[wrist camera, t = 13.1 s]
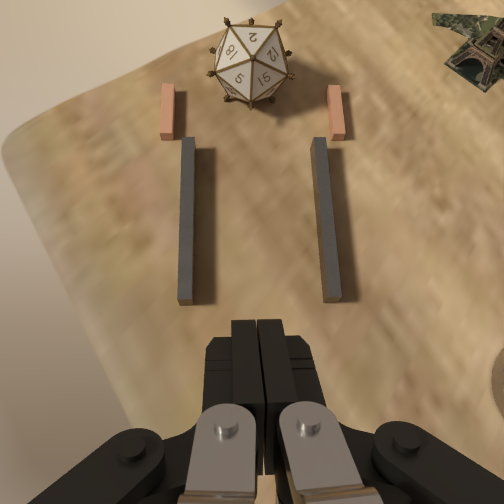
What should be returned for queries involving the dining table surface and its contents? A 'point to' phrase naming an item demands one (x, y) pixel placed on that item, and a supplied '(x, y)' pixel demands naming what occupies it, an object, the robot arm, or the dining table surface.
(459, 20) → the eiffel tower figurine
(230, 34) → the game die
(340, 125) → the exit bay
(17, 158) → the dining table surface
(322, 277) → the chute
